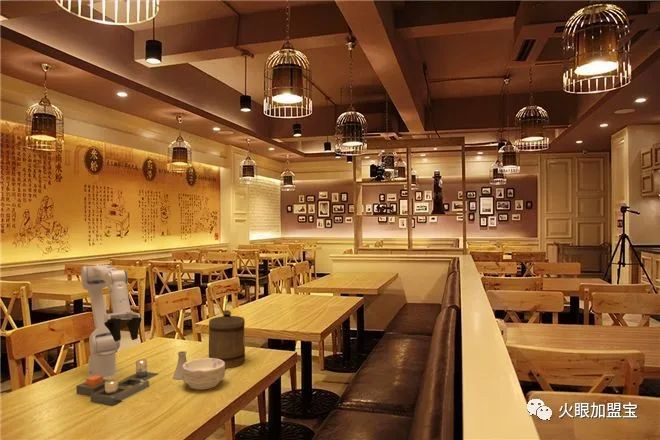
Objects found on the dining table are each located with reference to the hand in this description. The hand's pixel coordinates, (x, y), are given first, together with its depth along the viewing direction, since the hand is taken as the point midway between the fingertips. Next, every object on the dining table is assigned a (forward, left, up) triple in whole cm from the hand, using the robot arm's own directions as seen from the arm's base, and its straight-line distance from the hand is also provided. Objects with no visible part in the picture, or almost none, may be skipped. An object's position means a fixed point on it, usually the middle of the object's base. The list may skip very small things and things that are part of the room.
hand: (126, 340), depth 157 cm
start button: (-13, -2, -17) cm, 21 cm away
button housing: (-13, -2, -19) cm, 23 cm away
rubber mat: (-7, +14, -19) cm, 24 cm away
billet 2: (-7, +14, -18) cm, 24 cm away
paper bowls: (+20, +16, -19) cm, 32 cm away
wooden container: (+14, +40, -19) cm, 46 cm away
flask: (+8, +19, -19) cm, 28 cm away
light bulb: (-2, -5, -19) cm, 20 cm away
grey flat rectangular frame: (-2, -1, -19) cm, 19 cm away
